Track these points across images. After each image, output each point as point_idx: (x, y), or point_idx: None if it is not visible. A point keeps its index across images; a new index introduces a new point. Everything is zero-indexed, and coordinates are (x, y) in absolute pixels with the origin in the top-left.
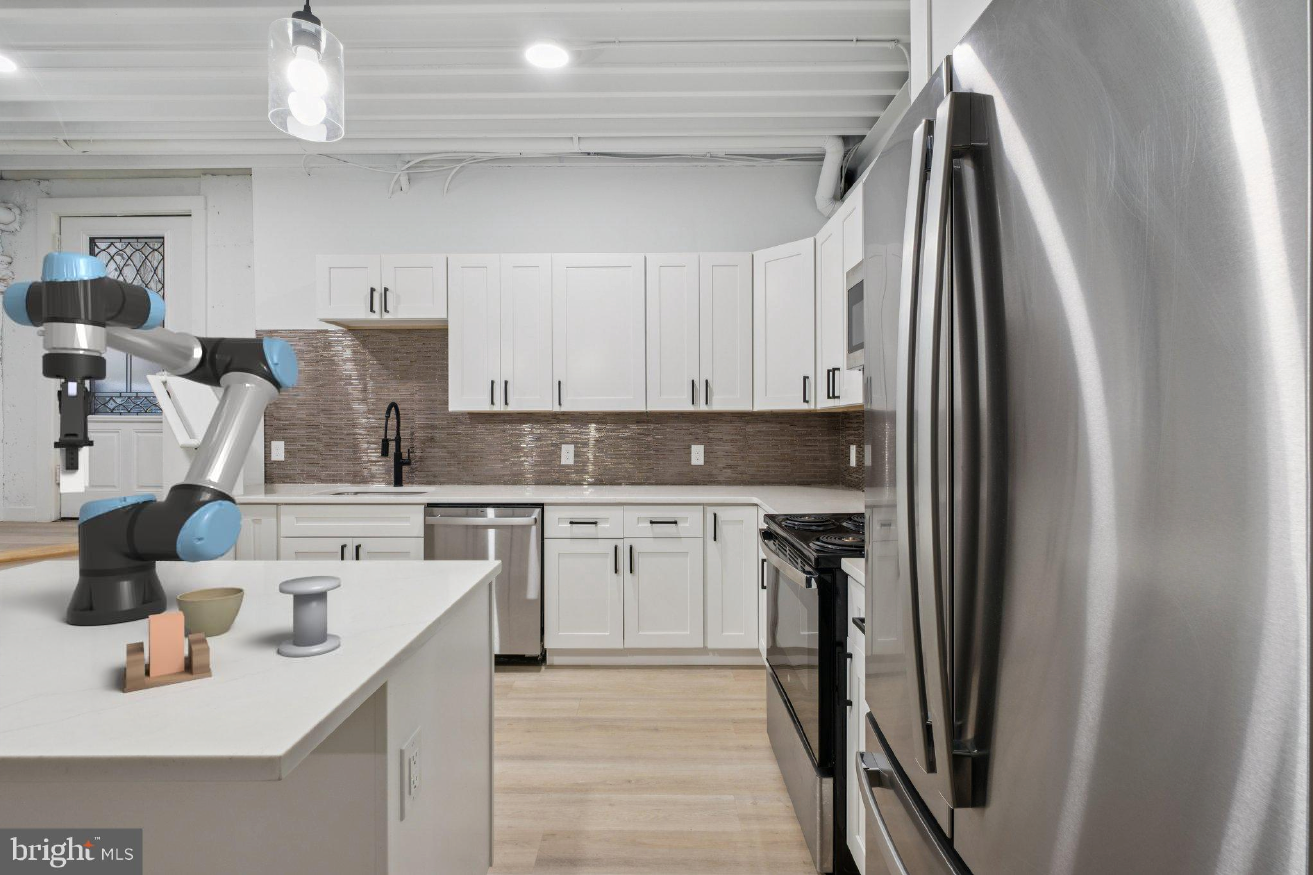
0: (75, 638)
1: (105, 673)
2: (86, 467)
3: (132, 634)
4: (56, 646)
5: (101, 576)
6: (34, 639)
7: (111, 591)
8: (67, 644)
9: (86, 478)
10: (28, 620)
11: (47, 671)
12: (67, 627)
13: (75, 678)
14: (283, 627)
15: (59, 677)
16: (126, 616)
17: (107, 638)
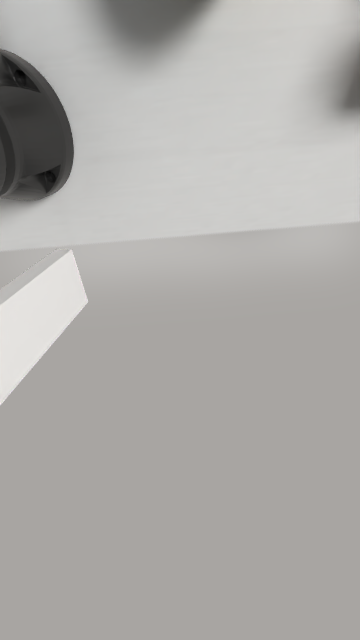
0: (131, 179)
1: (355, 124)
2: (30, 291)
3: (147, 100)
4: (161, 197)
5: (15, 163)
6: (113, 222)
7: (35, 143)
8: (158, 186)
9: (56, 267)
10: (21, 235)
11: (278, 196)
12: (69, 193)
13: (344, 162)
14: None
15: (320, 181)
16: (63, 116)
17: (152, 137)
